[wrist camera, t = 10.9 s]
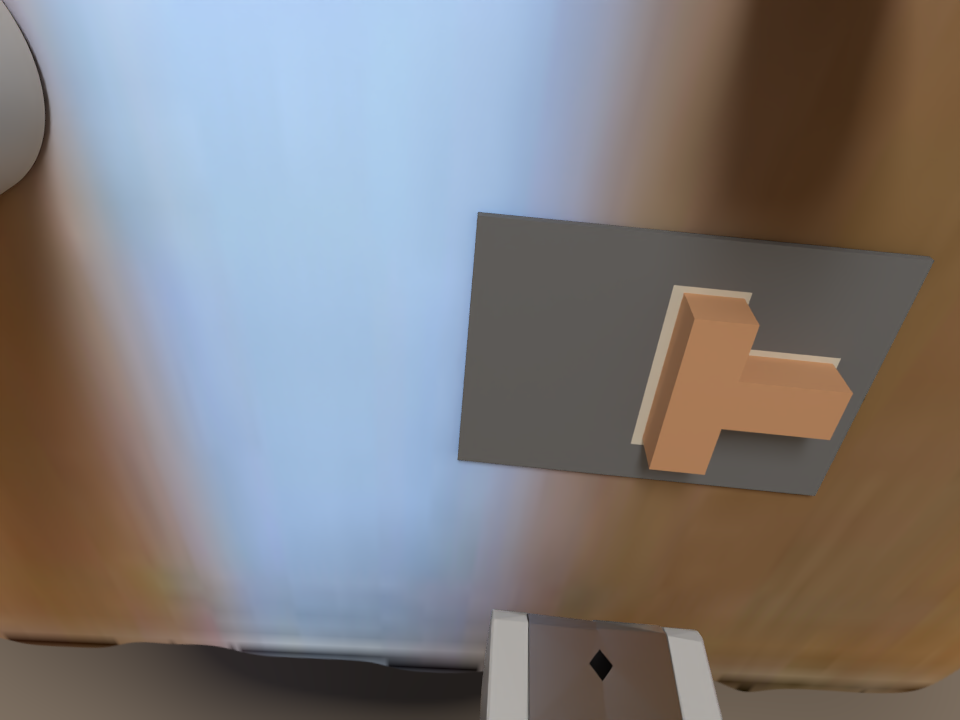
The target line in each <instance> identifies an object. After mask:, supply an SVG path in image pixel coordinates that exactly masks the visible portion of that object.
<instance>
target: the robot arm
mask: <svg viewBox="0 0 960 720" xmlns="http://www.w3.org/2000/svg"><path fill="white" fill-rule="evenodd" d="M44 128H45V106H44V97H43V91H42V86H41V82H40V78H39V75H38V71H37V68H36V65H35V62H34V60H33V57H32V54H31V52H30V50H29V47H28V45H27V43H26V41H25V39H24V37H23V35H22V33H21V31H20V29H19V27H18V25H17V24H16V22H15V20H14V19H13V17H12V15H11V14H10V12H9V11H8V9H7V8H6V6H5V5H4V3H3V2H2V0H0V195H1V194H2V193H3V192H5V191H6V190H8V189H9V188H11V187H12V186H14V185H15V184H16V183H18V182H19V181H20V180H21V179H22V178H23V177H24V176H25V175H26V174H27V173H28V171H29V170H30V169H31V167H32V165H33V164H34V162H35V160H36V158H37V156H38V154H39V151H40V148H41V145H42V141H43V136H44ZM480 720H723V719H722V715H721V711H720V707H719V703H718V699H717V695H716V691H715V687H714V683H713V679H712V675H711V671H710V666H709V662H708V658H707V654H706V650H705V646H704V642H703V638H702V637H701V635H700V634H699V632H698V631H696V630H692V629H680V628H668V627H660V626H659V625H647V624H635V623H623V622H612V621H600V620H593V621H590V620H581V619H572V618H564V617H555V616H547V615H538V614H530V613H528V614H527V613H524V612H514V611H504V610H494V609H493V610H492V612H491V619H490V626H489V632H488V639H487V646H486V653H485V662H484V671H483V680H482V693H481V708H480Z"/></svg>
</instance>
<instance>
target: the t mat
mask: <svg viewBox="0 0 960 720" xmlns="http://www.w3.org/2000/svg"><path fill="white" fill-rule="evenodd" d="M933 262H934V260H933V259H932V258H931V257H927V256H917V255H907V254H897V253H887V252H877V251H867V250H857V249H846V248H836V247H826V246H816V245H806V244H796V243H786V242H776V241H766V240H755V239H745V238H735V237H725V236H715V235H705V234H695V233H685V232H675V231H664V230H654V229H644V228H634V227H624V226H614V225H604V224H594V223H584V222H573V221H563V220H553V219H543V218H533V217H523V216H513V215H503V214H492V213H482V212H478V218H477V230H476V243H475V255H474V267H473V279H472V291H471V304H470V316H469V328H468V340H467V352H466V365H465V377H464V389H463V401H462V414H461V426H460V438H459V450H458V460H466V461H476V462H486V463H495V464H505V465H515V466H525V467H535V468H545V469H555V470H565V471H575V472H584V473H594V474H604V475H614V476H624V477H634V478H644V479H654V480H664V481H673V482H683V483H693V484H703V485H713V486H723V487H733V488H743V489H753V490H762V491H772V492H782V493H792V494H802V495H812V496H815V495H816V493H817V491H818V489H819V487H820V485H821V483H822V481H823V479H824V477H825V475H826V473H827V471H828V469H829V467H830V465H831V463H832V461H833V459H834V457H835V455H836V453H837V451H838V450H839V448H840V446H841V444H842V442H843V440H844V438H845V436H846V434H847V432H848V430H849V428H850V426H851V424H852V422H853V420H854V418H855V416H856V414H857V412H858V410H859V408H860V406H861V404H862V402H863V400H864V398H865V396H866V394H867V392H868V390H869V388H870V386H871V384H872V382H873V380H874V378H875V377H876V375H877V373H878V371H879V369H880V367H881V365H882V363H883V361H884V359H885V357H886V355H887V353H888V351H889V349H890V347H891V345H892V343H893V341H894V339H895V337H896V335H897V333H898V331H899V329H900V327H901V325H902V323H903V321H904V319H905V317H906V315H907V313H908V311H909V309H910V307H911V305H912V304H913V302H914V300H915V298H916V296H917V294H918V292H919V290H920V288H921V286H922V284H923V282H924V280H925V278H926V276H927V274H928V272H929V270H930V268H931V266H932V264H933ZM684 293H693V294H703V295H713V296H723V297H733V298H743V299H745V300H746V302H747V304H748V305H749V307H750V309H751V311H752V313H753V314H754V316H755V318H756V320H757V321H758V323H759V325H760V326H759V329H758V331H757V334H756V337H755V340H754V342H753V345H752V348H751V350H750V353H749V355H751V356H761V357H771V358H781V359H791V360H801V361H810V362H820V363H830V364H833V365H834V366H835V368H836V369H837V370H838V372H839V373H840V375H841V376H842V378H843V379H844V381H845V382H846V384H847V385H848V387H849V388H850V390H851V391H852V393H853V394H852V396H851V398H850V400H849V403H848V405H847V407H846V409H845V411H844V413H843V415H842V417H841V419H840V421H839V423H838V425H837V427H836V429H835V431H834V433H833V435H832V437H831V439H830V440H824V439H814V438H805V437H795V436H785V435H775V434H765V433H755V432H745V431H736V430H726V429H721V432H720V434H719V437H718V440H717V443H716V445H715V448H714V451H713V453H712V456H711V459H710V462H709V464H708V467H707V470H706V472H705V475H701V474H692V473H682V472H672V471H662V470H652V469H649V466H648V461H647V457H646V452H645V448H644V443H643V439H642V438H643V434H644V431H645V427H646V424H647V420H648V417H649V413H650V410H651V406H652V403H653V399H654V396H655V392H656V389H657V385H658V382H659V378H660V375H661V371H662V368H663V364H664V361H665V357H666V354H667V350H668V347H669V343H670V340H671V336H672V333H673V329H674V326H675V322H676V319H677V315H678V312H679V308H680V305H681V301H682V298H683V294H684Z"/></svg>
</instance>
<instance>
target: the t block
mask: <svg viewBox="0 0 960 720" xmlns="http://www.w3.org/2000/svg"><path fill="white" fill-rule="evenodd" d="M759 326H760V325H759V323H758V321H757V320H756V318H755V316H754V314H753V313H752V311H751V309H750V307H749V305H748V304H747V302H746V300H745V299H743V298H733V297H723V296H713V295H703V294H693V293H684V294H683V298H682V301H681V305H680V308H679V312H678V315H677V319H676V322H675V326H674V329H673V333H672V336H671V340H670V343H669V347H668V350H667V354H666V357H665V361H664V364H663V368H662V371H661V375H660V378H659V382H658V385H657V389H656V392H655V396H654V399H653V403H652V406H651V410H650V413H649V417H648V420H647V424H646V427H645V431H644V434H643V438H642V439H643V443H644V448H645V452H646V457H647V461H648V466H649V469H652V470H662V471H672V472H682V473H692V474H701V475H705V472H706V470H707V467H708V464H709V462H710V459H711V456H712V453H713V451H714V448H715V445H716V443H717V440H718V437H719V434H720V432H721V429H726V430H736V431H745V432H755V433H765V434H775V435H785V436H795V437H805V438H814V439H824V440H830V439H831V437H832V435H833V433H834V431H835V429H836V427H837V425H838V423H839V421H840V419H841V417H842V415H843V413H844V411H845V409H846V407H847V405H848V403H849V400H850V398H851V396H852V394H853V393H852V391H851V390H850V388H849V387H848V385H847V384H846V382H845V381H844V379H843V378H842V376H841V375H840V373H839V372H838V370H837V369H836V368H835V366H834V365H833V364H830V363H820V362H810V361H801V360H791V359H781V358H771V357H761V356H751V355H749V353H750V350H751V348H752V345H753V342H754V340H755V337H756V334H757V331H758V329H759Z"/></svg>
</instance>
